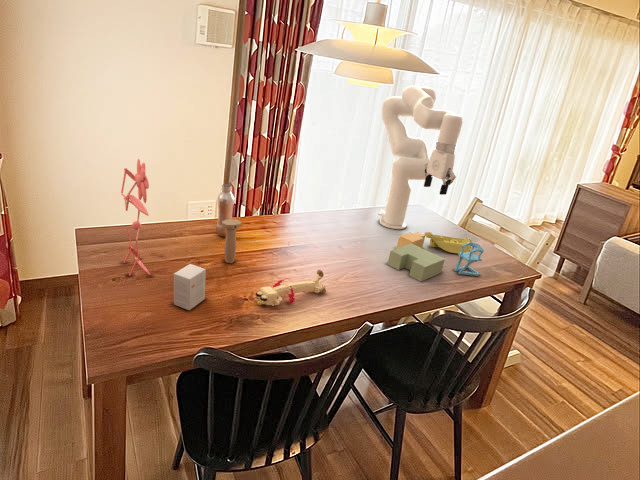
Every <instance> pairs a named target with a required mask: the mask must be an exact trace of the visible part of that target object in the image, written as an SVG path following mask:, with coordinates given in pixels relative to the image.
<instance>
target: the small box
mask: <svg viewBox="0 0 640 480" xmlns="http://www.w3.org/2000/svg"><path fill="white" fill-rule="evenodd" d="M206 271H207V270H206V268H203V267H200V266H198V265H195V264H191V263H189V264H187V265H186V266H184V267H182V268H180V269H179V270H178V271H176V272H174V273H173V305H174V306H177V307H179V308H181V309H184V310H187V311H191V310H192V309H193V308H195V307H196V306H197V305H199V304H200V303H201V302H203V301H204V300H205V299H206V273H207V272H206Z"/></svg>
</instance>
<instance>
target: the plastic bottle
mask: <svg viewBox="0 0 640 480" xmlns="http://www.w3.org/2000/svg"><path fill="white" fill-rule="evenodd" d="M220 190H221V192H220V193H219V194H218V196H217V199H216V200H217V212H218V213H217V222H216V227H215V230H216V233H217V235H218V236H220V237H226V228H224V227H223V226H222V221H224V220H228V219H233V212H234V207H235V196H234V193H232V192H233V186H232V185H231V184H228V183H223V184H221V189H220Z"/></svg>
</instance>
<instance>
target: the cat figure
mask: <svg viewBox="0 0 640 480" xmlns="http://www.w3.org/2000/svg"><path fill="white" fill-rule="evenodd" d="M316 275H318V276H316V277H315V279H313V280H307V281H306V280H303V281H295V282H288V283H285V284H281V283H282V282H284V279H279V280H278V281H276V282H275V283H274V284H273V285H272V287H271V286H269V285H268V286H261V287H260V288H259V291H256V293H255V296H256V297H257V298H254V301H256V304H257V305H258V306H261V305H265V306H272V307H275V306H279V305H280V303H282V301H283V297H285V296H287V297H288V298H289V299H288V302H287V304H290V305H291V304H294V302H296V301H295V300H296V299H295V294H297V293H308V292H309V293H313V292H314V293H316V294H318V293H321V294H325V293H326V292H327V289H326V287H327V286H326V284H321V285H320V284H319V283H320V281H321V280H322V279H323V278H324V276H325V274H324V272H323V270H321V269H318V270H317V271H316Z"/></svg>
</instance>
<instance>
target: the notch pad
mask: <svg viewBox="0 0 640 480" xmlns="http://www.w3.org/2000/svg"><path fill="white" fill-rule="evenodd" d="M445 260H446V259H445V258H444V257H443V256H440V255H438V254H436V253H433V252H431V251H430V250H426V249H424V248H423V247H422V248H420V247H418V246H416V245H414V244H412V243H411V244H408V245H405V246H402V247H399V248H397V247H395V248H394V249H391V250H390V251H389V255H388V259H387V265H388V266H390V267H392V268H394V269H396V270H398V271H399V270H402V269H406V270H408V271H409V274H408V275H409V276H410V277H411V278H413V279H415V280H417V281H419V282H423V281H426V280H428V279H430V278H432V277H434V276H438V275H439V274H441V273H442V271H443V267H444V263H445Z"/></svg>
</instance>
